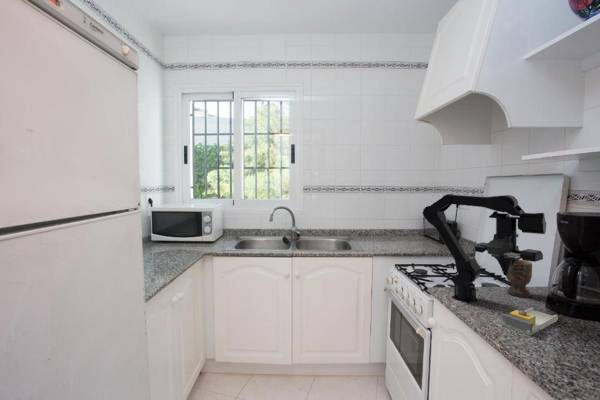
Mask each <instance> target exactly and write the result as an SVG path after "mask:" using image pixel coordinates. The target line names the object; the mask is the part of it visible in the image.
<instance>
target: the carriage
mask: <svg viewBox="0 0 600 400" xmlns="http://www.w3.org/2000/svg"><path fill="white" fill-rule="evenodd" d="M509 315H511V316H514V317H517V318H520V319H523V320H525V321H528V322H531V323H532V327H533V326H535V325H536V316H534V315H531V314H528V313H527V312H525V310H522V309H521V310H520V309H519V310H518V309H514V310H513V311H510V312H509Z"/></svg>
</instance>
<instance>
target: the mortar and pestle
mask: <svg viewBox="0 0 600 400" xmlns="http://www.w3.org/2000/svg"><path fill="white" fill-rule="evenodd" d="M517 250H520V249H519V248H518V249H517ZM532 277H533V262H532V261H527V260H523V259H518V260H517V261H516V263H515V264H514V266H513V268H512V269H511V271H510V273H509V275H508V276H506V277H505V278H506V279H507V281H508V282H510V284H511V285H510V286H509V287H508V289H507V290H506V293H508V294H509V295H512V296H515V297H518V298H529V297H531V296H532V294H531V292H530V290H529V289H528V288H527V286H528V285H529V284H530V283H531V280H532Z"/></svg>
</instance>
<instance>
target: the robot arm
mask: <svg viewBox="0 0 600 400" xmlns="http://www.w3.org/2000/svg"><path fill="white" fill-rule="evenodd" d="M452 205H455V206H456V205H458V206H467V207H469V206H470V207H479V208H480V207H481V208H485V209H488V210H491V211H493V212H492V214H490V215H489V216H488V218H490V219H495V233H494V234H493V238H492V240H490V241H489V242H478V243H475V245H474V247H473V248H474V252H477V253H482V254H483V253H485V252H486V251H487V254H488V255H491V257H492V258H495V260H496V261H497V262H498V264H499V267H500V269H501V271H502V274H503V276H508V275H509V273H510V271H511V269H512V268H513V266H514V264H515V263H516V261H517V260H518V259H520V260H526V261H529V262H531V263H533V262H534V263H535V262H538V261H542V260H544V254H543V252H542V251H541V250H537V249H532V248H531V249H530V248H526V249H523V250H520V249H519V245H517V241H518V240H517V238H519V234H518V233H517V229H518V230H519V231H521V232H522V233H523V234H524V233H525V234H536V235H538V234H540V235H545V234H546V232H547V222H546V217H545V213H544V212H526V211H524V209H523V208H522V207H521V206H520V205H519V201H518V199H517V198H516V197H515V196H514V195H510V194H508V195H507V194H504V195H503V194H502V195H495V196H493V195H492V196H480V195H479V196H477V195H476V196H475V195H466V194H465V195H463V194H452V193H447V194H444V195H443V196H442V197H441V198H440V199H437V201H434V202H433V203H432V204H431V205H428V206H426V207H424V208H423V209H422V210H423V211H422V215H423V218H424V220H426V221H427V222H428V224H430V225H432V226H433V227H434V228H435V230H436V231H437V233H438V235H439V237H441V239H442V241H443V243H444V245H445V246H446V248H447V249H448V251H449V253H450V254H451V256H452V258H453V260H454V263H455V268H456V271H457V275H455V276H453V277H452V278H451V281H452V284H453V285H454V286H453V290H454V292H453V293H454V294H453V295H451V298H453V299H456V300H458V301H462V302H463V303H464V302H465V303H467V304H468V303H469V304H470V303H472V302H475V301H477V300H478V297H477V289H476V286H475V285H476V284H475V283H474V282H475V281H476V280H477V279H479V278H480V277H481V274H482V269H481V268H482V266H481V265H480V264H479V263H478V261H477V259H476V258H475V257H473V258H472V257H471V258H470V257H469V256H468V255H467V253H466V252H465V251H464V249H463V247H462V245H461V244H460V242H459V241H458V239H457V237H456V236H455V234H454V233H453V231H452V229H451V228H450V226H449V224H448V222H447V217H446V214H445V211H447V210H448V209H449V208H450V207H451V206H452ZM517 249H519V250H517Z"/></svg>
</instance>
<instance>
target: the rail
mask: <svg viewBox="0 0 600 400" xmlns="http://www.w3.org/2000/svg"><path fill="white" fill-rule="evenodd" d="M524 311H525V312H527V313H528V314H531V315H534V316H536V325H535V326H533V327H532V323H531V322H528V321H525V320H523V319H520V318H517V317H514V316H511V315H510V314H507V313H504V314H502V326H503V327H504V326H506V327H505V328H507V327H508V328H507V329H510V328H511V329H510V330H512V329H513V331H515V330H516V331H515V332H518V331H519V332H518V333H520V332H522V333H521V334H523V333H524V335H526V334H527V336H528V335H530V336H529V337H531V336H533V335H534V333H535V334H537V333H538V332H540V331H541V329H542V330H543V329H545V328H546V327H549V326H550V325H552V324H553V323H555V322H557V321H558V318H559V317H558V314H553V315H551V314H548V313H545V312H542V311H540V310H539V311H538V310H535V309H534V307H529V308H526V309H524ZM539 330H540V331H539ZM532 334H533V335H532Z"/></svg>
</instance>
